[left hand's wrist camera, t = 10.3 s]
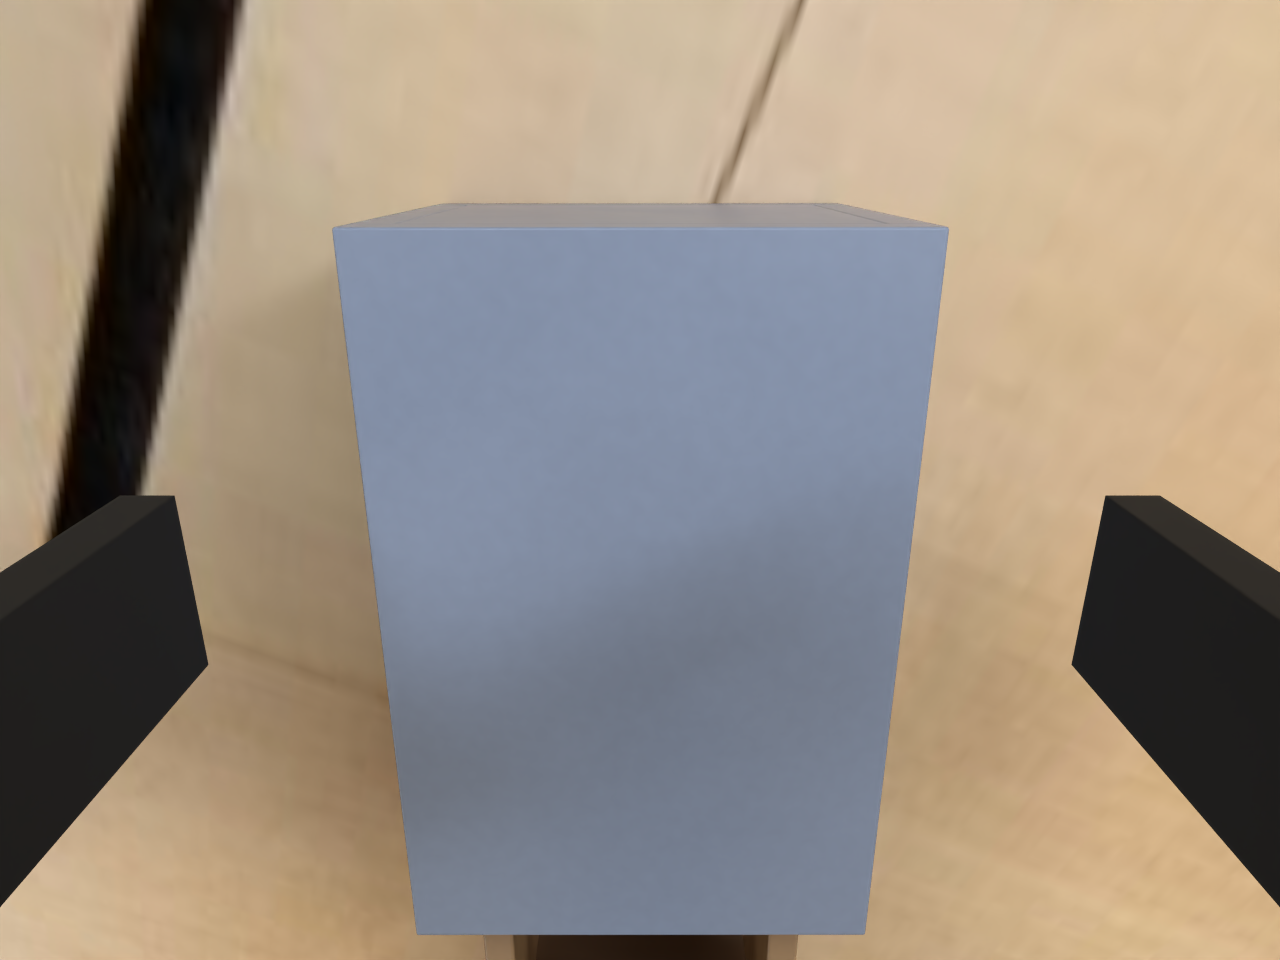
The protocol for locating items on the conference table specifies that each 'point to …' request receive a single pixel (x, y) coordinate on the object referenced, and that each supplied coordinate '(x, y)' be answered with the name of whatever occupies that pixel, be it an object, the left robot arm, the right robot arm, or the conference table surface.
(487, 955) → the drawer
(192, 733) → the conference table surface
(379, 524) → the cabinet
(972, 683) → the conference table surface
